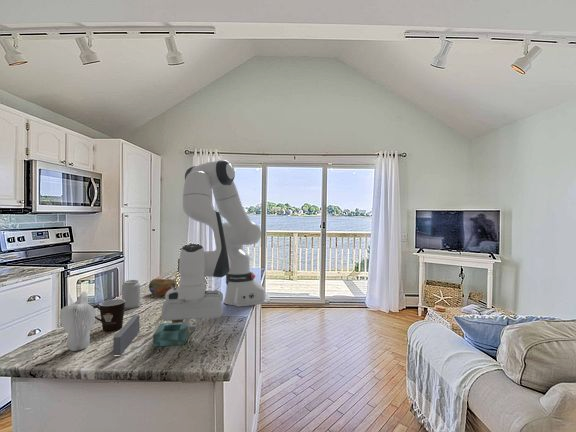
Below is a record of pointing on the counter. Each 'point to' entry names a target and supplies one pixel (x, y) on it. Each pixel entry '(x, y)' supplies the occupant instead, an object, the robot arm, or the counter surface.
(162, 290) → the tin
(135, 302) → the can
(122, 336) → the wall
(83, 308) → the shell sculpture
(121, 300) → the coffee mug
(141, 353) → the counter surface
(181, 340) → the block
